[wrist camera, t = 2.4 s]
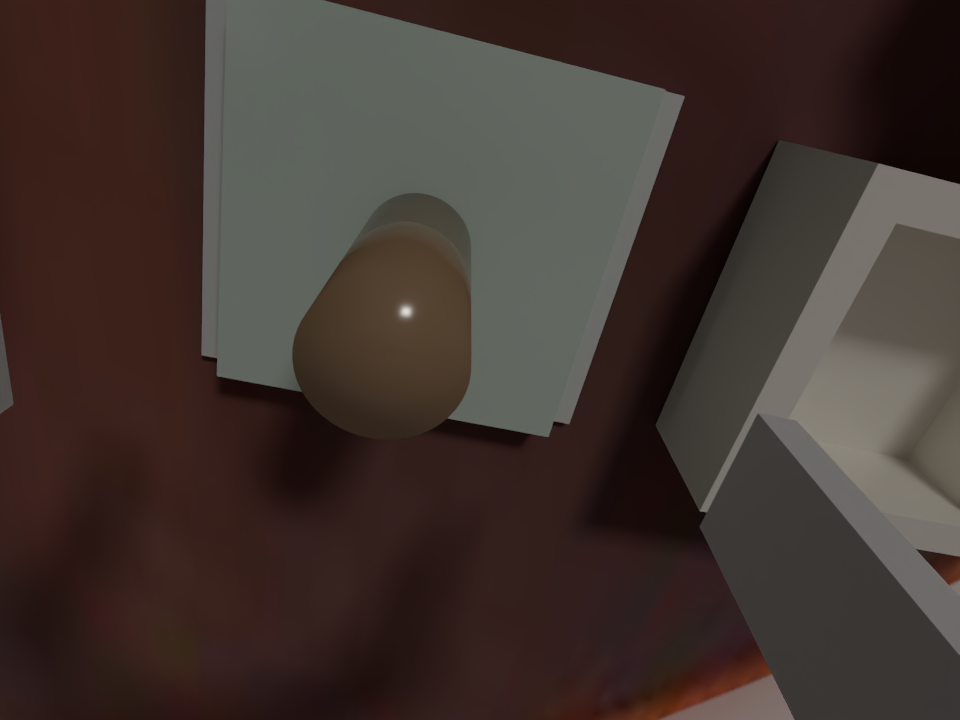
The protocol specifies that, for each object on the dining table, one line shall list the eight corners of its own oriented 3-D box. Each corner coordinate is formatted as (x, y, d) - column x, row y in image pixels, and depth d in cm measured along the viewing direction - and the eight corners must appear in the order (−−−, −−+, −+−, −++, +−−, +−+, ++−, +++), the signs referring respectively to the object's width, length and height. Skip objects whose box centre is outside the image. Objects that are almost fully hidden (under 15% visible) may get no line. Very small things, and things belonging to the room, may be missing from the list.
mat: (204, 351, 21) (201, 355, 21) (210, -27, 16) (206, -28, 16) (567, 419, 23) (569, 424, 23) (681, 95, 18) (684, 96, 17)
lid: (229, 360, 21) (77, 545, 13) (243, -19, 16) (2, -109, 8) (544, 419, 23) (586, 621, 14) (653, 88, 17) (818, 107, 9)
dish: (655, 425, 23) (699, 511, 19) (779, 139, 18) (878, 163, 14) (901, 472, 24) (997, 563, 20) (1077, 216, 20) (1257, 260, 15)
